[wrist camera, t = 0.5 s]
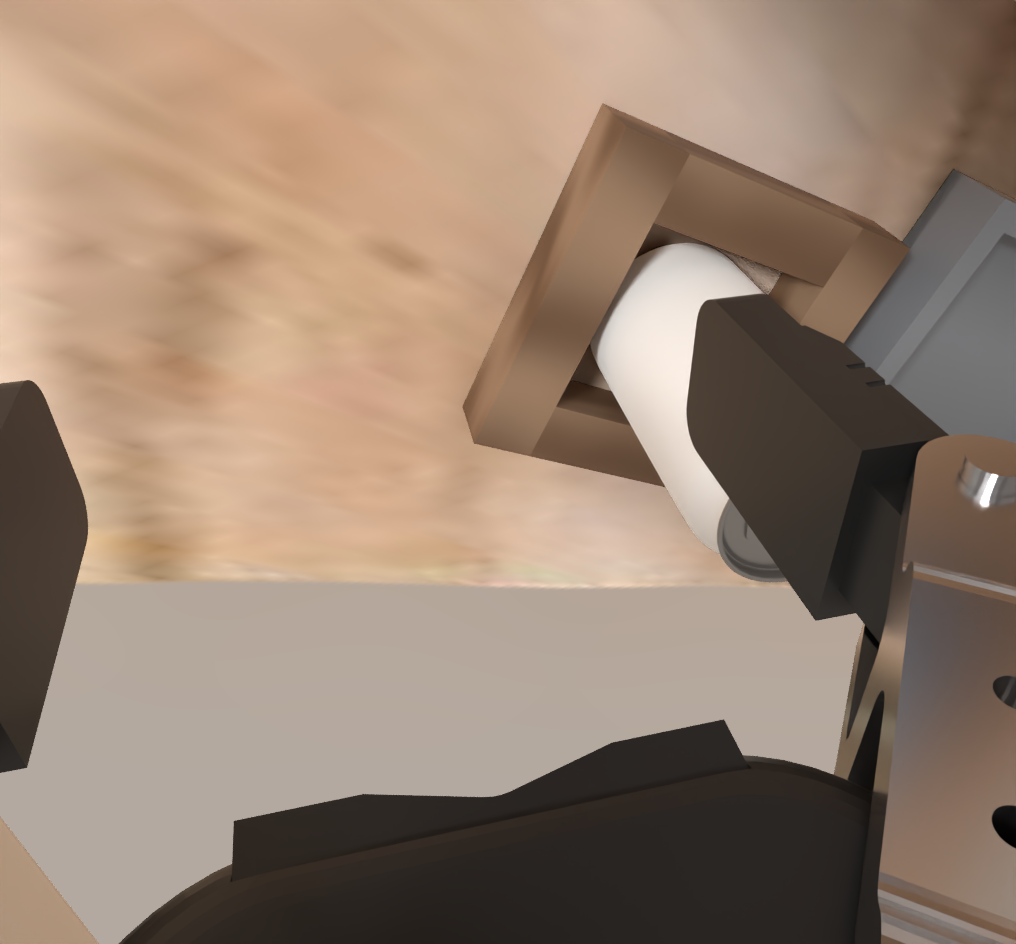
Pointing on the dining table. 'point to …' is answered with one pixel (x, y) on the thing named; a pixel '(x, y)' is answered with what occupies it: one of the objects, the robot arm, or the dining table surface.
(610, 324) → the can
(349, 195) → the dining table surface
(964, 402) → the tray
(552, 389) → the square wooden frame
